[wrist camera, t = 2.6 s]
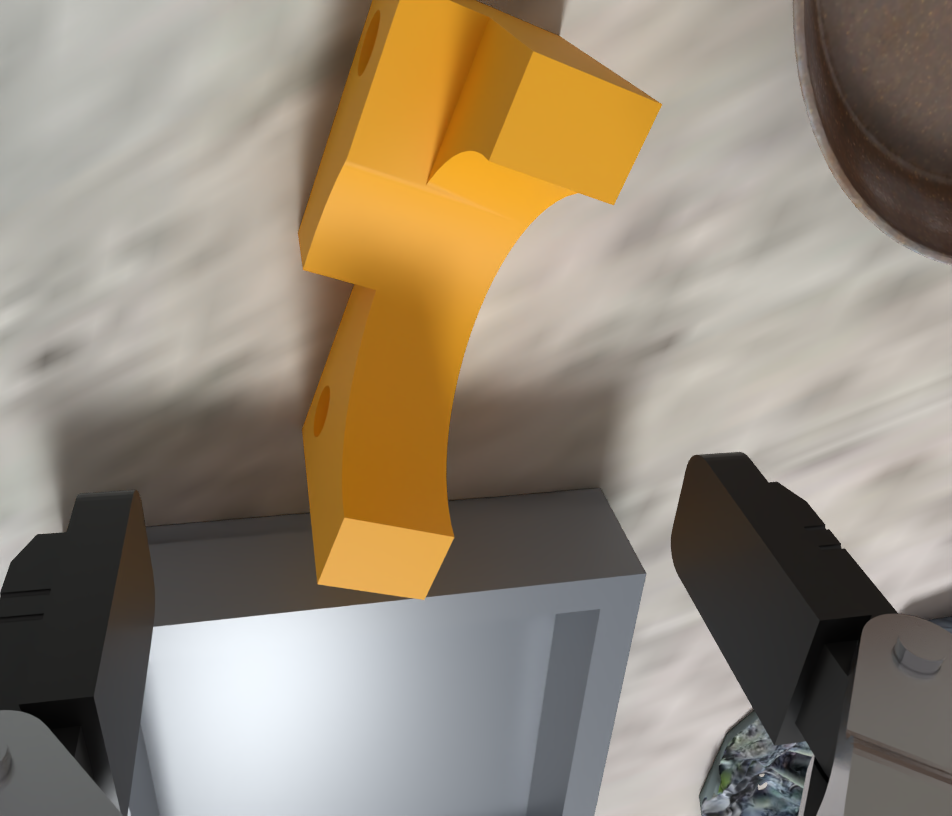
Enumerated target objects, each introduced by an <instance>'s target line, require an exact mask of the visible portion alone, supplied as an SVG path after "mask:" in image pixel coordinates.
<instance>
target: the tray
mask: <svg viewBox="0 0 952 816" xmlns="http://www.w3.org/2000/svg"><path fill="white" fill-rule="evenodd" d="M448 507H449V514H450V520H451V525H452V529H453V533H454V539H453V541H452V543H451V546H450V548H449V550H448V552H447V554H446V556H445V558H444V560H443V562H442V564H441V566H440V568H439V571H438V573H437V575H436V577H435V579H434V581H433V583H432V585H431V587H430V589H429V591H428V594H427V596H426V598H425V600H421V599H414V598H407V597H400V596H394V595H387V594H380V593H373V592H366V591H360V590H353V589H346V588H339V587H332V586H325V585H319V584H317V576H316V566H315V555H314V545H313V535H312V525H311V515H310V513H305V514H293V515H282V516H270V517H258V518H247V519H235V520H224V521H212V522H200V523H189V524H177V525H166V526H154V527H146V533H147V539H148V545H149V551H150V557H151V563H152V569H153V576H154V586H155V617H154V626H153V633H152V640H151V648H150V655H149V662H148V670H147V677H146V684H145V692H144V699H143V706H142V713H141V721H140V728H139V735H138V743H137V750H136V757H135V765H134V772H133V779H132V786H131V794H130V801H129V808H128V816H594V814H595V809H596V805H597V800H598V795H599V791H600V786H601V781H602V777H603V772H604V767H605V763H606V758H607V754H608V749H609V744H610V740H611V735H612V730H613V726H614V721H615V716H616V712H617V707H618V702H619V698H620V693H621V689H622V684H623V679H624V675H625V670H626V665H627V661H628V656H629V651H630V647H631V642H632V638H633V633H634V628H635V624H636V619H637V614H638V610H639V605H640V600H641V596H642V591H643V586H644V582H645V577H646V572H645V570H644V568H643V566H642V565H641V563H640V561H639V559H638V557H637V555H636V553H635V552H634V550H633V548H632V546H631V544H630V542H629V540H628V539H627V537H626V535H625V533H624V531H623V529H622V527H621V526H620V524H619V522H618V520H617V518H616V516H615V514H614V512H613V511H612V509H611V507H610V505H609V503H608V501H607V499H606V498H605V496H604V494H603V492H602V490H601V488H595V489H583V490H571V491H560V492H548V493H537V494H525V495H513V496H502V497H490V498H479V499H467V500H456V501H448Z"/></svg>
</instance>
